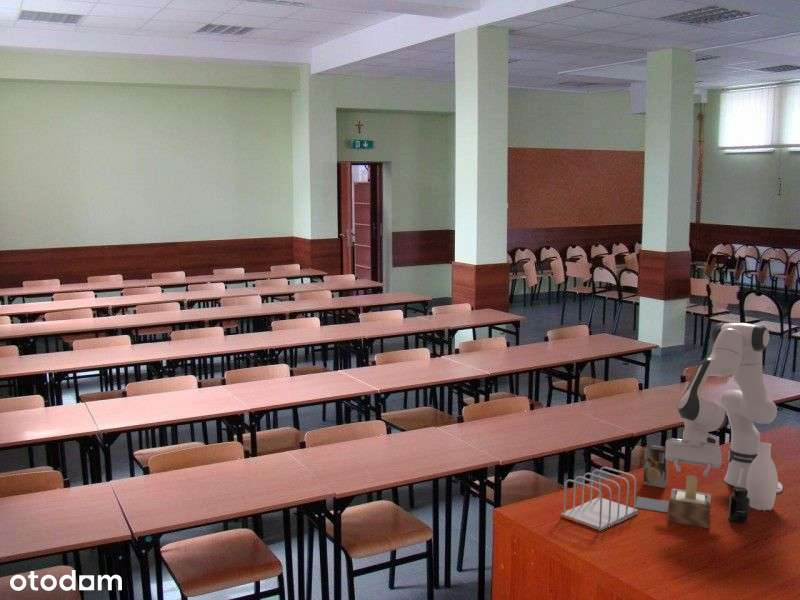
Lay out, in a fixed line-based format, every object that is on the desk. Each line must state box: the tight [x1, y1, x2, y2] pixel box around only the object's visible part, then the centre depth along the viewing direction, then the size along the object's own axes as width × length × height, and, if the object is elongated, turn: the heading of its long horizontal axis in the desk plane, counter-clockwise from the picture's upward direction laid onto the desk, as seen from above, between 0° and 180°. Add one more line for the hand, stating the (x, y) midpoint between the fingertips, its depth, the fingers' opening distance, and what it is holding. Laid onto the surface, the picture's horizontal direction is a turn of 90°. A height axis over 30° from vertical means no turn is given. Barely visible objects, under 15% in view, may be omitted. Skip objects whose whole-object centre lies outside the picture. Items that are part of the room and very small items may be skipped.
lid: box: [676, 474, 705, 505], centre depth 288 cm, size 10×10×9 cm
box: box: [667, 487, 712, 529], centre depth 289 cm, size 14×14×8 cm
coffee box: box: [642, 443, 669, 489], centre depth 324 cm, size 9×6×16 cm
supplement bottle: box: [727, 486, 750, 524], centre depth 288 cm, size 7×7×12 cm
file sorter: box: [560, 466, 639, 531], centre depth 289 cm, size 25×17×16 cm
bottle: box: [746, 441, 779, 512], centre depth 301 cm, size 11×11×25 cm
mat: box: [635, 496, 670, 514], centre depth 302 cm, size 12×12×1 cm
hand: (691, 473), depth 290 cm, fingers open, 8 cm apart
